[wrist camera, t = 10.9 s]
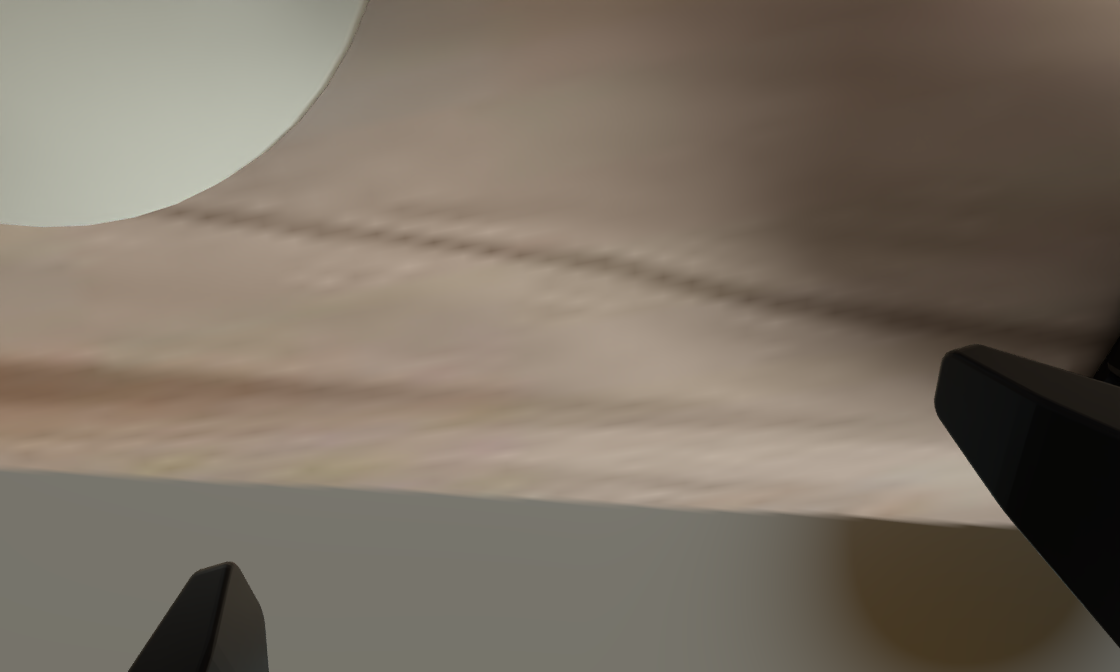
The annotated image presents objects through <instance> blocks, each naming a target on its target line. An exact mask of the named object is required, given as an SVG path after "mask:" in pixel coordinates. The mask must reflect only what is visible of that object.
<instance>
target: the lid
mask: <svg viewBox="0 0 1120 672" xmlns="http://www.w3.org/2000/svg"><path fill="white" fill-rule="evenodd" d="M368 2H369V0H0V224H10V225H22V226H34V227H59V226H85V225H94V224H100V223H105V222H111V221H117V220H123V219H129V218H134V217H137V216H140V215H144V214H147V213H150V212H153V211H156V210H159V209H162V208H165V207H169V206H172V205H175V204H177V203H179V202H181V201H184V200H186V199H188V198H190V197H192V196H194V195H196V194H198V193H200V192H202V191H204V190H206V189H208V188H210V187H212V186H214V185H216V184H218V183H220V182H221V181H223V180H225V179H226V178H228V177H230V176H232V175H233V174H235V173H236V172H238V171H239V170H241V169H242V168H244V167H245V166H246V165H248V164H249V163H251V162H252V161H254V160H255V159H257V158H258V157H260V156H261V155H262V154H264V153H265V152H267V151H268V150H269V149H270V148H272V147H273V146H274V145H275V144H276V143H277V142H278V141H279V140H280V139H281V138H282V137H283V136H284V135H285V134H286V133H288V132H289V131H290V130H291V129H292V128H293V127H294V126H295V125H296V124H297V123H298V122H299V121H300V120H301V119H302V118H303V116H304V115H305V114H306V113H307V111H308V110H309V109H310V107H311V106H312V105H313V104H314V102H315V101H316V100H317V99H318V97H319V96H320V95H321V94H322V92H323V91H324V90H325V89H326V87H327V86H328V84H329V82H330V81H331V79H332V77H333V76H334V74H335V72H336V70H337V69H338V67H339V65H340V63H341V62H342V60H343V58H344V57H345V55H346V53H347V51H348V50H349V48H350V46H351V44H352V41H353V39H354V36H355V34H356V31H357V29H358V27H359V24H360V22H361V19H362V17H363V14H364V12H365V9H366V7H367V4H368Z"/></svg>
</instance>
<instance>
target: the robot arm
mask: <svg viewBox="0 0 1120 672" xmlns="http://www.w3.org/2000/svg"><path fill="white" fill-rule="evenodd" d="M934 405H935V410H936V413H937V415H938V417H939V419H940V421H941V422H942V424H943V425H944V426H945V428H946V429H947V431H948V432H949V434H950V435H951V437H952V438H953V439H954V441H955V442H956V444H957V445H958V447H959V448H960V450H961V451H962V452H963V454H964V455H965V457H966V458H967V460H968V461H969V463H970V464H971V465H972V467H973V468H974V470H975V471H976V473H977V474H978V476H979V477H980V478H981V480H982V481H983V483H984V484H985V486H986V487H987V489H988V490H989V491H990V493H991V494H992V496H993V497H994V498H995V500H996V501H997V503H998V504H999V505H1000V507H1001V508H1002V509H1003V511H1004V512H1005V513H1006V515H1007V516H1008V517H1009V518H1010V519H1011V521H1012V522H1013V523H1014V524H1015V526H1016V527H1017V528H1018V529H1019V530H1020V532H1021V533H1022V534H1023V535H1024V536H1025V537H1026V538H1027V540H1028V541H1029V542H1030V543H1031V545H1032V546H1033V547H1034V548H1035V549H1036V550H1037V552H1038V553H1039V554H1040V555H1041V556H1042V557H1043V559H1044V560H1045V561H1046V562H1047V563H1048V564H1049V566H1050V567H1051V568H1052V569H1053V570H1054V571H1055V573H1056V574H1057V575H1058V576H1059V577H1060V579H1061V580H1062V581H1063V582H1064V583H1065V584H1066V586H1067V587H1068V588H1069V589H1070V590H1071V591H1072V593H1073V594H1074V595H1075V596H1076V597H1077V599H1078V600H1079V601H1080V602H1081V603H1082V604H1083V606H1084V607H1085V608H1086V609H1087V610H1088V611H1089V612H1090V614H1091V615H1092V616H1093V617H1094V618H1095V620H1096V621H1097V622H1098V623H1099V624H1100V626H1101V627H1102V628H1103V629H1104V630H1105V631H1106V632H1107V634H1108V635H1109V636H1110V637H1111V638H1112V640H1113V641H1114V642H1115V643H1116V644H1117V646H1118V647H1119V648H1120V337H1119V338H1118V340H1117V342H1116V343H1115V345H1114V346H1113V348H1112V349H1111V351H1110V353H1109V354H1108V356H1107V357H1106V359H1105V360H1104V362H1103V364H1102V365H1101V367H1100V368H1099V370H1098V372H1097V373H1096V375H1095V376H1094V378H1093V379H1092V378H1089V377H1085V376H1082V375H1079V374H1075V373H1072V372H1069V371H1066V370H1062V369H1059V368H1056V367H1052V366H1049V365H1046V364H1043V363H1039V362H1036V361H1033V360H1029V359H1026V358H1023V357H1020V356H1016V355H1013V354H1010V353H1006V352H1003V351H1000V350H997V349H993V348H990V347H987V346H983V345H979V344H973V345H968V346H965V347H961V348H958V349H955V350H951V351H949V352H947V353H946V354H945V356H944V357H943V358H942V362H941V366H940V372H939V377H938V382H937V387H936V392H935V398H934ZM128 672H269V668H268V656H267V643H266V630H265V621H264V616H263V613H262V609H261V606H260V604H259V602H258V600H257V599H256V597H255V595H254V594H253V591H252V590H251V588H250V586H249V585H248V582H247V581H246V579H245V577H244V575H243V574H242V572H241V570H240V568H239V567H238V566H237V565H236V564H235V563H233V562H224V563H221V564H217V565H214V566H211V567H207V568H204V569H200V570H199V571H197V572H195V573H194V574H193V575H192V576H191V578H190V579H189V581H188V582H187V583H186V585H185V586H184V588H183V589H182V591H181V593H180V594H179V595H178V597H177V598H176V600H175V602H174V603H173V604H172V606H171V607H170V609H169V611H168V612H167V613H166V615H165V616H164V618H163V620H162V621H161V622H160V624H159V625H158V627H157V629H156V630H155V632H154V633H153V634H152V636H151V638H150V639H149V641H148V642H147V643H146V645H145V647H144V648H143V649H142V651H141V652H140V654H139V655H138V657H137V658H136V660H135V661H134V663H133V664H132V666H131V668H130V669H129V670H128Z"/></svg>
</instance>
